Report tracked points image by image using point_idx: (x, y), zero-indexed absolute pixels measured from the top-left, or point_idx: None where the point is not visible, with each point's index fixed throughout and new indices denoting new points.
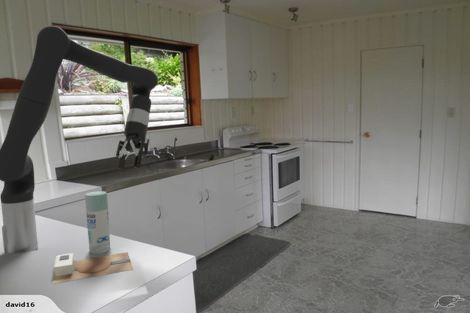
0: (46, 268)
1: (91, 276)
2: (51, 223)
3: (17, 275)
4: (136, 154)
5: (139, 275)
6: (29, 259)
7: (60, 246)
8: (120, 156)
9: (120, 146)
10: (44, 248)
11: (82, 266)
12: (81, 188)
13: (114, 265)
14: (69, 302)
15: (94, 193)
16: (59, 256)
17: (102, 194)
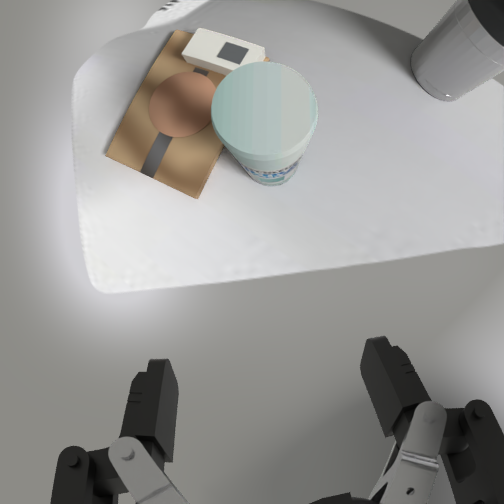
0: (289, 50)
1: (143, 83)
2: None
3: (299, 12)
4: (121, 444)
5: (100, 164)
6: (373, 53)
7: (408, 130)
8: (414, 416)
9: (492, 495)
10: (421, 103)
11: (200, 84)
12: None
13: (150, 136)
14: (118, 45)
15: (269, 99)
16: (251, 49)
17: (211, 114)
